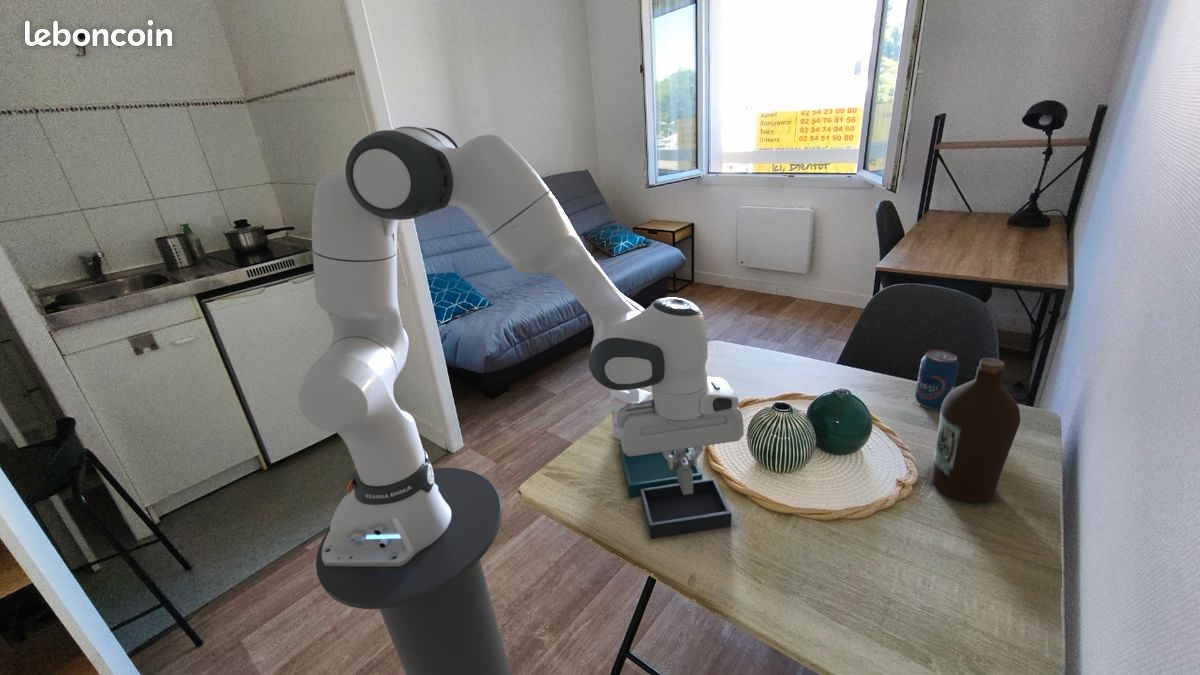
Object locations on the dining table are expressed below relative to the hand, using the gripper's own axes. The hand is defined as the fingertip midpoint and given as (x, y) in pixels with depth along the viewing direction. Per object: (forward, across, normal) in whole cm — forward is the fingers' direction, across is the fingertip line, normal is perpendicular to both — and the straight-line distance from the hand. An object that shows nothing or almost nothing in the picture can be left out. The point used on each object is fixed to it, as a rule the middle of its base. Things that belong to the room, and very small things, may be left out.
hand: (682, 465), depth 86 cm
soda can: (+11, +63, +22) cm, 68 cm away
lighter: (+3, 0, 0) cm, 3 cm away
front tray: (+11, 0, 0) cm, 11 cm away
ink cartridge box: (+11, -5, +25) cm, 27 cm away
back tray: (+11, -2, +12) cm, 17 cm away
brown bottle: (+11, +50, -3) cm, 51 cm away
